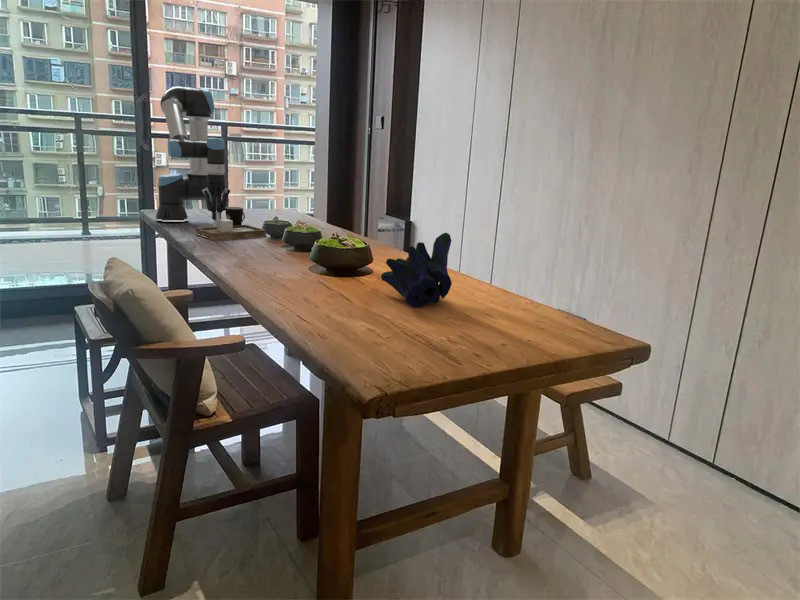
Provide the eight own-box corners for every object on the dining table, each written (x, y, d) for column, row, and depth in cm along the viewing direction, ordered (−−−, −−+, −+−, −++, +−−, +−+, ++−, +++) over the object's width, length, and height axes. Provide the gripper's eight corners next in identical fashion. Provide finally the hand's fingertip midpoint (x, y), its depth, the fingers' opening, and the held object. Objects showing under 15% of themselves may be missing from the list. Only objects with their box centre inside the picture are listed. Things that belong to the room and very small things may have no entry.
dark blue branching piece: (400, 335, 189) (386, 286, 215) (480, 307, 189) (457, 261, 214) (378, 281, 178) (366, 236, 203) (464, 250, 178) (441, 209, 203)
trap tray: (195, 234, 280) (195, 228, 279) (246, 230, 298) (246, 224, 298) (214, 240, 269) (214, 234, 268) (266, 236, 287) (266, 230, 286)
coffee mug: (223, 227, 305) (223, 206, 302) (241, 227, 308) (241, 206, 306) (228, 231, 295) (227, 210, 292) (246, 230, 298) (246, 210, 296)
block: (217, 230, 283) (217, 219, 281) (227, 230, 286) (227, 219, 284) (222, 232, 279) (222, 221, 278) (232, 231, 282) (232, 220, 281)
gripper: (206, 174, 268) (207, 228, 274) (233, 174, 277) (233, 227, 283) (198, 173, 273) (199, 226, 279) (225, 173, 282) (225, 224, 288)
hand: (216, 226), depth 281 cm, fingers closed
